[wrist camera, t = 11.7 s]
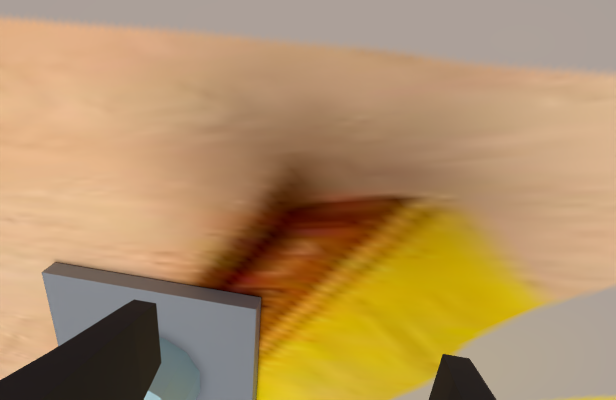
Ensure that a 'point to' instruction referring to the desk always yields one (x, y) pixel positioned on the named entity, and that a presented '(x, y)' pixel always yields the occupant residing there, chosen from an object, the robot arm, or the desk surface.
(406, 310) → the desk surface
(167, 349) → the flange ring
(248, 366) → the post base
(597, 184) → the desk surface
